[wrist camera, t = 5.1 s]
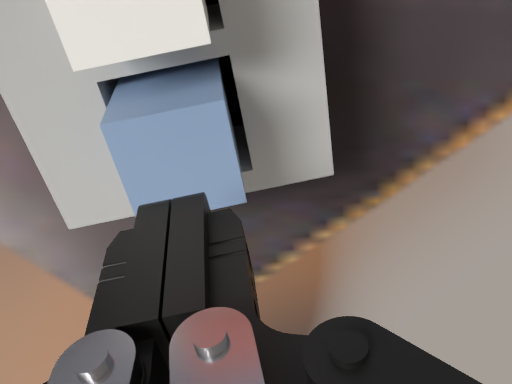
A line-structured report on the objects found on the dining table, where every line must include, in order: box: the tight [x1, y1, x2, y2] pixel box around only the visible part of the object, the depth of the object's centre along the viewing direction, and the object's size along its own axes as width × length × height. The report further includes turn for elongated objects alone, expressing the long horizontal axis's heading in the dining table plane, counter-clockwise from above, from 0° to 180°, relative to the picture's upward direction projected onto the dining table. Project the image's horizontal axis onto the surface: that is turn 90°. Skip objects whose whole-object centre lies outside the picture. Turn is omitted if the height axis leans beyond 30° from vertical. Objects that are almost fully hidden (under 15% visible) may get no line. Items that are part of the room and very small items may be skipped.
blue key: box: [100, 57, 247, 217], centre depth 15 cm, size 3×3×4 cm
